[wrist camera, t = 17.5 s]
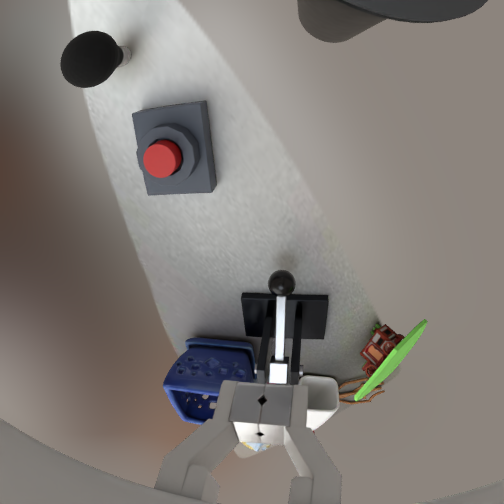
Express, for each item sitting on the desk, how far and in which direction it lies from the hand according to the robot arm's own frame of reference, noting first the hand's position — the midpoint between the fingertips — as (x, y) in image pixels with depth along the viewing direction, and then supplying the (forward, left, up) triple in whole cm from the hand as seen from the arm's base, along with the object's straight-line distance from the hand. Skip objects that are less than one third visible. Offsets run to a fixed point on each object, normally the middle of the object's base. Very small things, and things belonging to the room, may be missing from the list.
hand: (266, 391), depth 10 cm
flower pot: (+34, -12, -27) cm, 45 cm away
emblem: (+44, +12, -26) cm, 53 cm away
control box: (-2, -13, -27) cm, 30 cm away
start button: (-2, -13, -23) cm, 27 cm away
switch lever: (+19, -1, -21) cm, 28 cm away
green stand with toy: (+28, +16, -22) cm, 39 cm away
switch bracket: (+23, -1, -27) cm, 36 cm away
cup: (+53, +1, -24) cm, 58 cm away
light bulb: (-14, -18, -27) cm, 36 cm away
